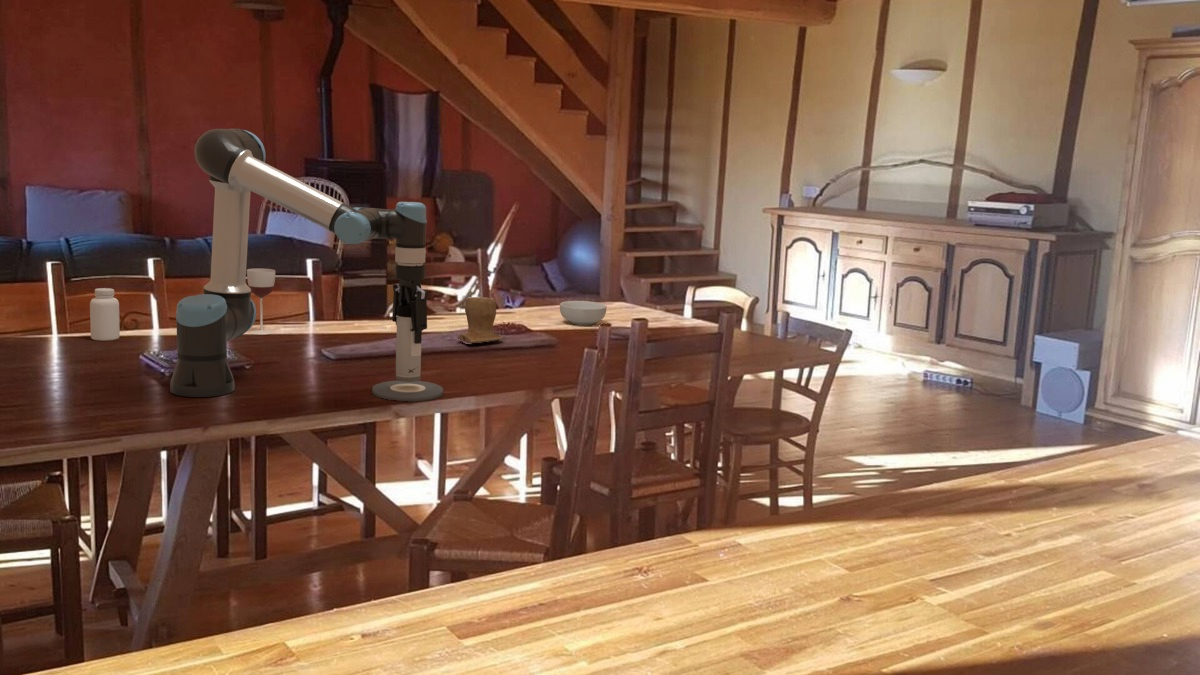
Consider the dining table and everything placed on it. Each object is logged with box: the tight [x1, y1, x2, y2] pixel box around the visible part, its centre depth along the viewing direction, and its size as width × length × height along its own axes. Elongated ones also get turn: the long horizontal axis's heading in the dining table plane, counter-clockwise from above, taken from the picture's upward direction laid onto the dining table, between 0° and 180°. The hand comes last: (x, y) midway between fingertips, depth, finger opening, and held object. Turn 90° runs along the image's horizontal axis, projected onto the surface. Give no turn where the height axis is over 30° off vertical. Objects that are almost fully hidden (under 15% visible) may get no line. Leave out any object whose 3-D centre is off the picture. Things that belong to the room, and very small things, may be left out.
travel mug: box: [395, 305, 422, 382], centre depth 279 cm, size 6×7×20 cm
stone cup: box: [457, 296, 504, 343], centre depth 351 cm, size 15×12×15 cm
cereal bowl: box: [559, 300, 607, 326], centre depth 396 cm, size 17×17×7 cm
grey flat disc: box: [371, 380, 444, 403], centre depth 282 cm, size 18×18×1 cm
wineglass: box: [246, 268, 276, 335], centre depth 347 cm, size 8×9×20 cm
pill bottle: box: [89, 287, 121, 342], centre depth 326 cm, size 8×8×15 cm
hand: (408, 352), depth 280 cm, fingers closed on travel mug, 6 cm apart
